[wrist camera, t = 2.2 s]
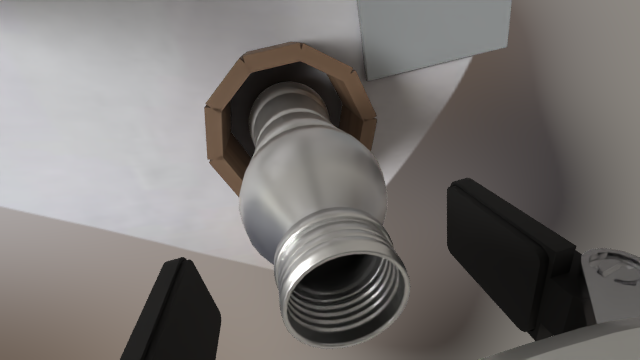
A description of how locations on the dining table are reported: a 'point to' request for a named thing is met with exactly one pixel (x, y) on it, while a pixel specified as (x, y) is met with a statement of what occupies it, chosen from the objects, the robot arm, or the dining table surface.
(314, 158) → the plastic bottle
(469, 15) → the rubber mat
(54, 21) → the dining table surface
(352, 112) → the ring holder
